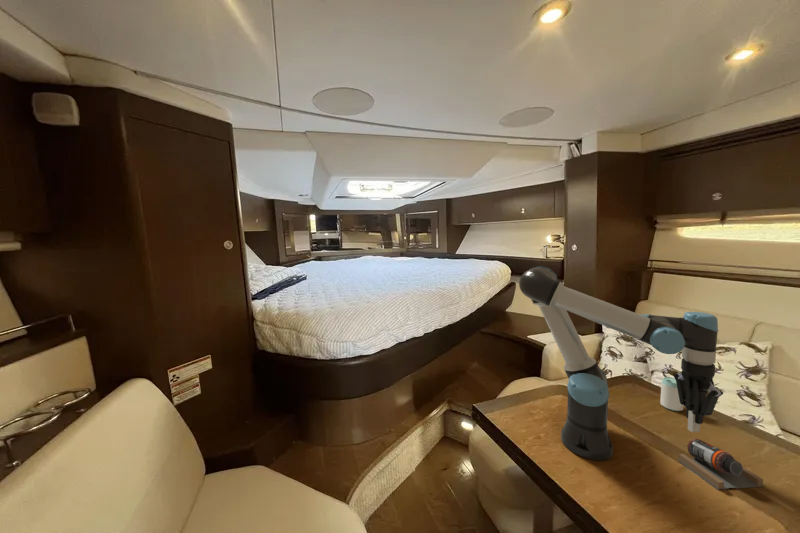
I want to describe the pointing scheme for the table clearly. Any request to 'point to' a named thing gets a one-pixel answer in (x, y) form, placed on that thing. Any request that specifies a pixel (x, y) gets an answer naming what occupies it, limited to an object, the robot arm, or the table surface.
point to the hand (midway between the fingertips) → (693, 430)
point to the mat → (721, 475)
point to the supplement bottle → (714, 457)
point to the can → (670, 394)
